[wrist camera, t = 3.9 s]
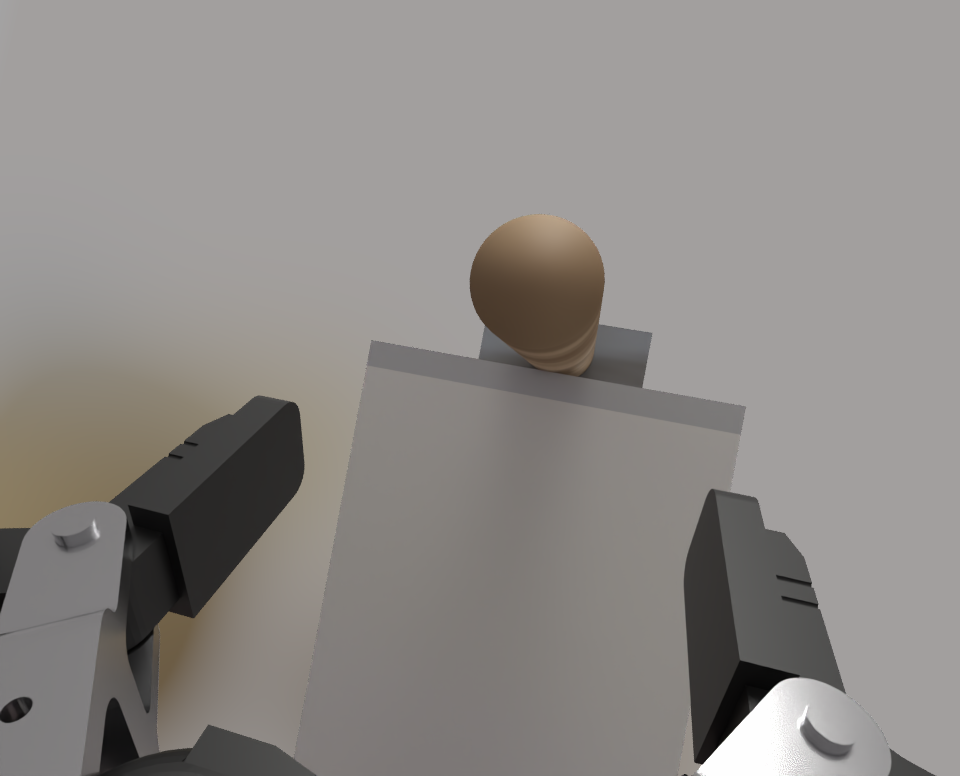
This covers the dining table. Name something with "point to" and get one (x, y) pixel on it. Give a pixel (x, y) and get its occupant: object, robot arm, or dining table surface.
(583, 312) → the mallet
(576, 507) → the stand
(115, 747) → the robot arm
